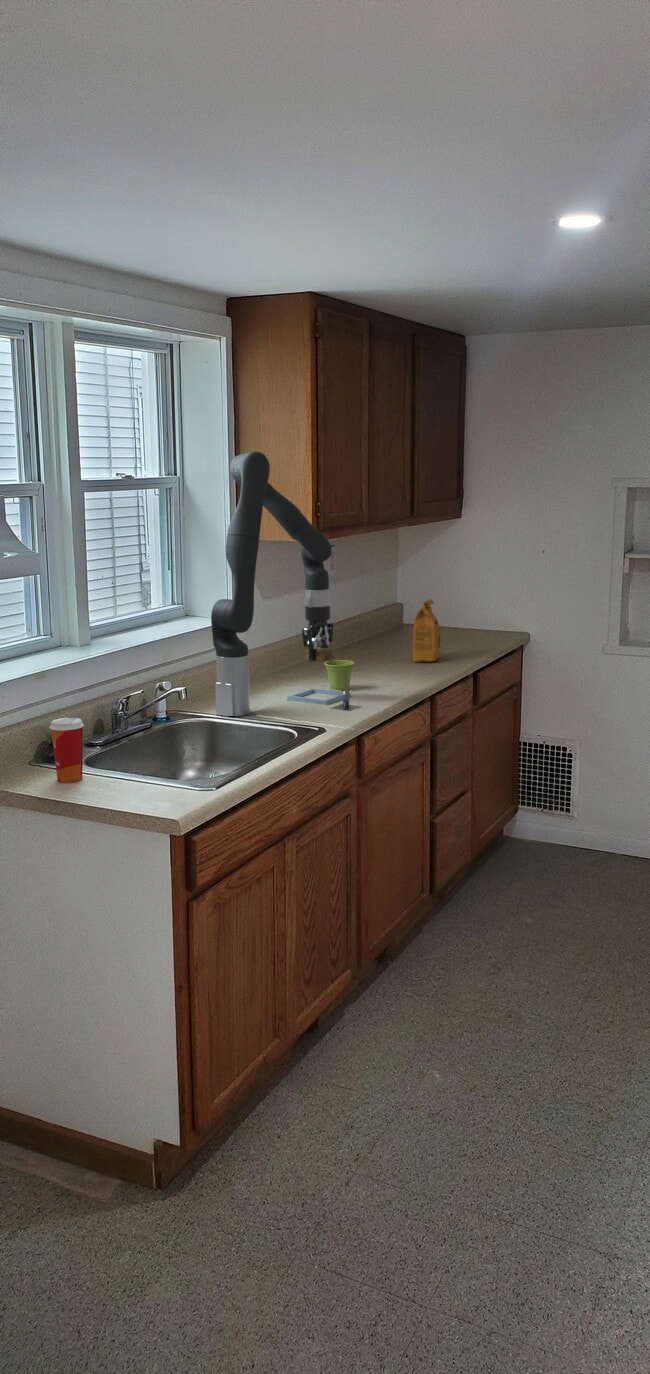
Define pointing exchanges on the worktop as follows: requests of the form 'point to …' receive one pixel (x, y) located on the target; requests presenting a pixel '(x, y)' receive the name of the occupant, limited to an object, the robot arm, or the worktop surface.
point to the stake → (346, 703)
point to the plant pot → (339, 674)
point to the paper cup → (67, 748)
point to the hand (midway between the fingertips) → (318, 659)
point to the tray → (299, 698)
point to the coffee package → (426, 635)
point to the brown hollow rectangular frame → (321, 654)
